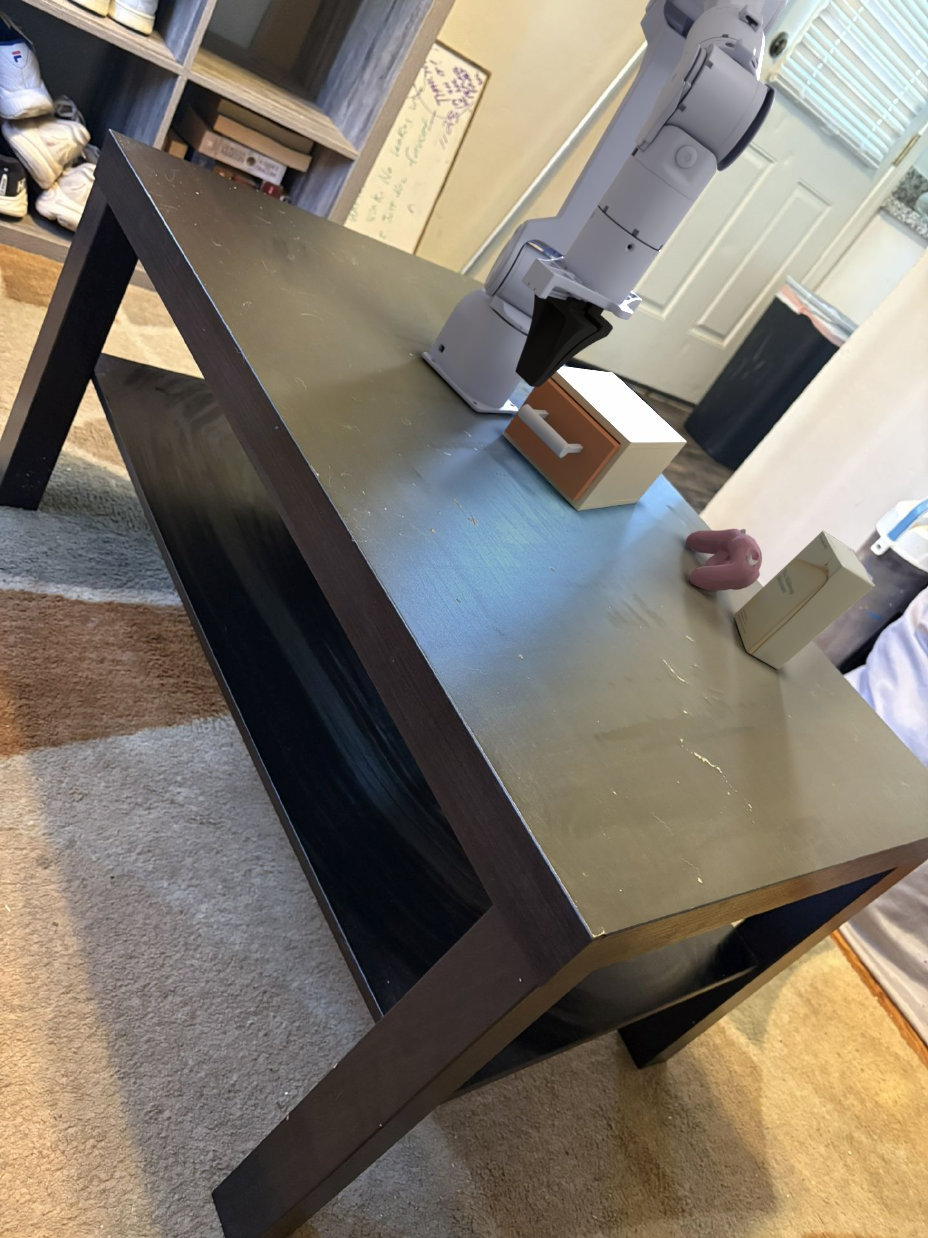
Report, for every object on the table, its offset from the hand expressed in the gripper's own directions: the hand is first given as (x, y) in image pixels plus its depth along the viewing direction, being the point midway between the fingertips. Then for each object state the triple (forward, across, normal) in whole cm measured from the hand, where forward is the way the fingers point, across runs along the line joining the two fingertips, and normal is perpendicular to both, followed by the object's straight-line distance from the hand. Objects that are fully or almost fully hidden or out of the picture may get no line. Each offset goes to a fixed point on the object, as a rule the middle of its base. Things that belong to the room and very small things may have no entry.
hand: (526, 379), depth 72 cm
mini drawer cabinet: (+10, +20, 0) cm, 23 cm away
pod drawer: (+10, +16, 0) cm, 19 cm away
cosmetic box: (+11, +22, -26) cm, 36 cm away
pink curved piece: (+11, +26, -17) cm, 33 cm away
